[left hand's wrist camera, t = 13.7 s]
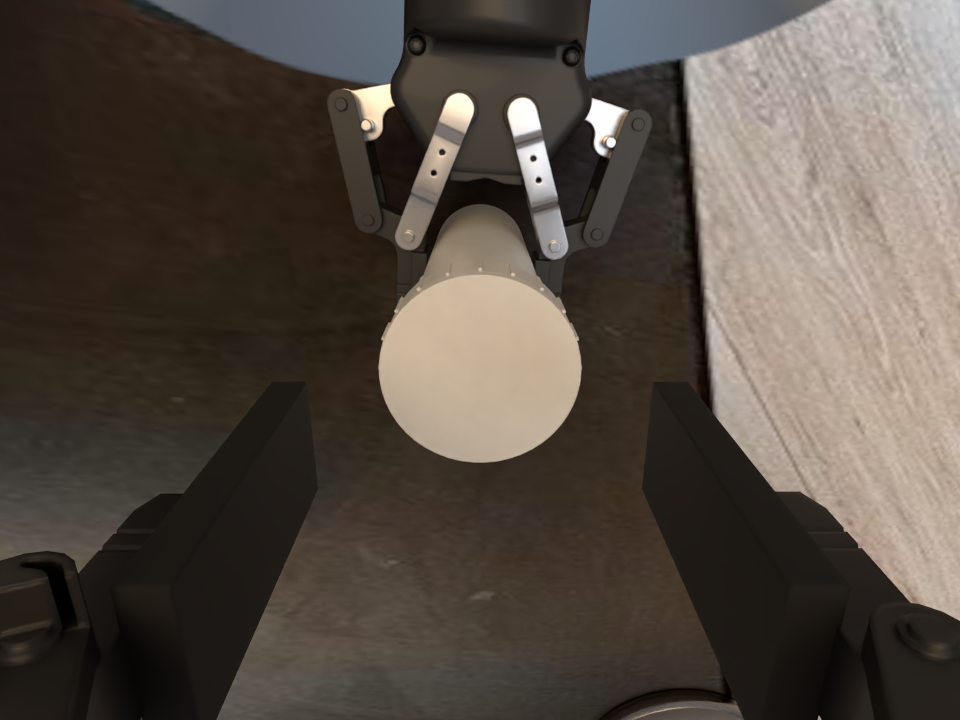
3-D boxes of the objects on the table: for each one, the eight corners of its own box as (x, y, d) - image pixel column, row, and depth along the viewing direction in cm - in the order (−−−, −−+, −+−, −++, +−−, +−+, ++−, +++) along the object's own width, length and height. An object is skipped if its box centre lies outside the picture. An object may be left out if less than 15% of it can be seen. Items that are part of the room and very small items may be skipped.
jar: (460, 187, 34) (440, 254, 17) (539, 229, 35) (596, 333, 18) (421, 267, 36) (368, 401, 19) (498, 305, 37) (514, 468, 20)
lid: (436, 223, 18) (431, 234, 17) (609, 311, 19) (622, 331, 17) (356, 388, 20) (344, 414, 18) (518, 461, 21) (521, 493, 19)
